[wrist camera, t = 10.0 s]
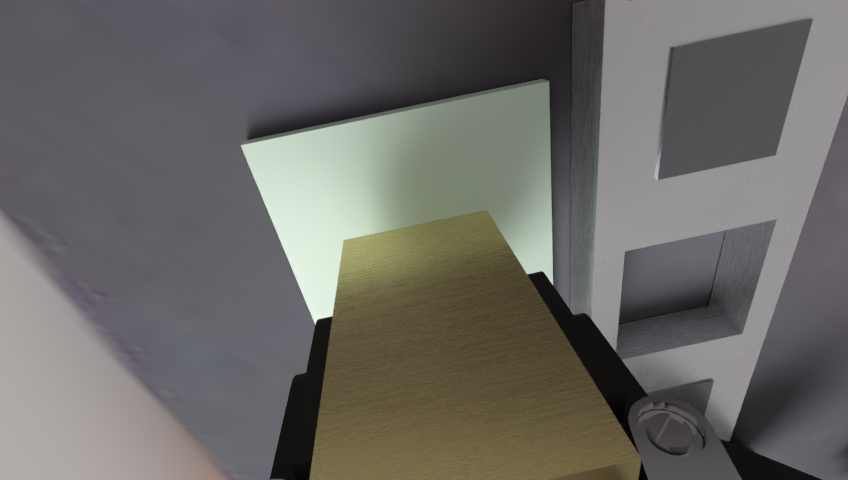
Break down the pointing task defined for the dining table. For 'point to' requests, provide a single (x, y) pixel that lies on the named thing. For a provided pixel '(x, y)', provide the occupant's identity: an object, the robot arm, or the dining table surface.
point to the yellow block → (455, 368)
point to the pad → (409, 178)
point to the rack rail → (698, 170)
